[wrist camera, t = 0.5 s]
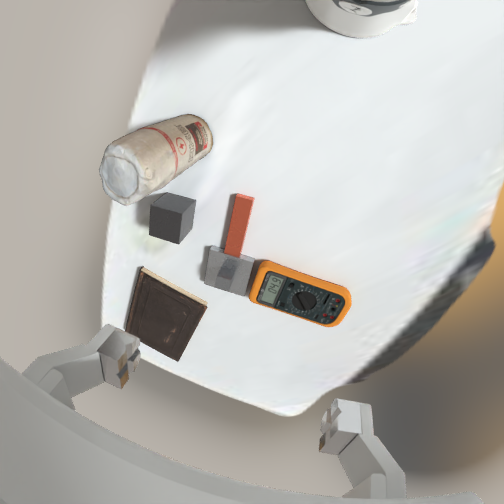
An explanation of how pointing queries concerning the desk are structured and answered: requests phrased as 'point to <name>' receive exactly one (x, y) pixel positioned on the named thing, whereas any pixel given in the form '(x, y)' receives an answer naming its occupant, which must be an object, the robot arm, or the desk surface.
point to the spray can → (153, 157)
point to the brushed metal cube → (171, 217)
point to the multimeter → (300, 294)
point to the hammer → (232, 253)
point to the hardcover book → (163, 314)
